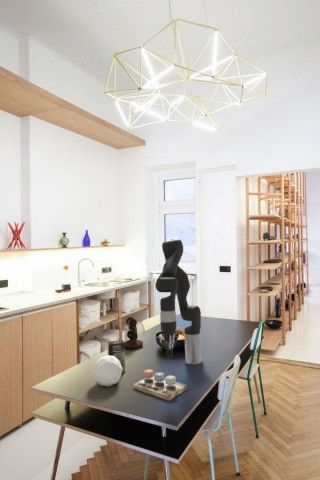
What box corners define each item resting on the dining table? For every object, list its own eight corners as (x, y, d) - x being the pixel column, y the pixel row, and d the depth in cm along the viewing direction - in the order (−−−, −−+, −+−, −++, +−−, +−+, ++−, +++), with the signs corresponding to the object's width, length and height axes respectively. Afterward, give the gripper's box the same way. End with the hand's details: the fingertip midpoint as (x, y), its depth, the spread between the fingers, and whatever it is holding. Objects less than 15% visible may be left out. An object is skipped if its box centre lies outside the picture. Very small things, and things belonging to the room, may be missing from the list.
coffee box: (109, 374, 182) (108, 344, 182) (108, 369, 188) (107, 341, 189) (125, 371, 185) (124, 342, 185) (124, 367, 191) (122, 339, 191)
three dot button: (158, 376, 164) (158, 371, 164) (166, 378, 161) (166, 373, 161) (152, 379, 161) (151, 374, 161) (160, 382, 157) (159, 377, 157)
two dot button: (148, 373, 169) (148, 368, 169) (155, 375, 166) (155, 370, 166) (141, 376, 165) (141, 371, 165) (149, 378, 162) (148, 374, 162)
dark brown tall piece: (146, 348, 225) (144, 318, 225) (125, 351, 220) (123, 321, 220) (139, 342, 239) (138, 314, 239) (119, 345, 233) (118, 317, 234)
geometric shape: (100, 395, 168) (83, 370, 170) (122, 376, 178) (105, 353, 180) (110, 390, 157) (91, 363, 160) (132, 370, 167) (114, 345, 170)
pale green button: (169, 379, 160) (169, 374, 160) (178, 382, 157) (178, 377, 157) (163, 383, 156) (163, 378, 156) (171, 385, 153) (171, 380, 153)
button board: (152, 378, 173) (152, 373, 173) (186, 389, 159) (186, 383, 159) (133, 388, 163) (133, 382, 163) (168, 400, 148) (168, 394, 148)
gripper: (170, 316, 164) (172, 351, 164) (153, 321, 154) (154, 359, 154) (183, 317, 159) (184, 354, 159) (165, 323, 149) (167, 362, 149)
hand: (169, 356), depth 157 cm, fingers closed
